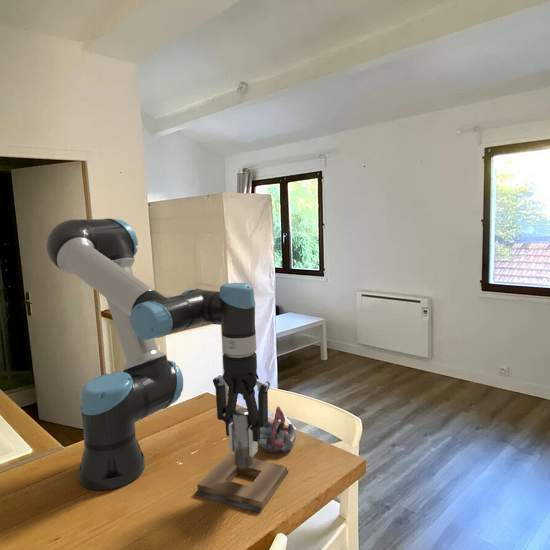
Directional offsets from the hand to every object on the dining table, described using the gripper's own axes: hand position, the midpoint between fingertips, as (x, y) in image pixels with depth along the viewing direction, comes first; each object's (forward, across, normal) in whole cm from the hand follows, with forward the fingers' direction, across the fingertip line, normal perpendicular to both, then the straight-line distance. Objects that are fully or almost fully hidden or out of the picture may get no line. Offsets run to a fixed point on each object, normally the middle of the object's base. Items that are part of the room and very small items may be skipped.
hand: (243, 451), depth 99 cm
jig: (+8, 0, 0) cm, 8 cm away
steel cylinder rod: (+3, 0, 0) cm, 3 cm away
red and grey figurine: (+8, 0, +19) cm, 20 cm away
